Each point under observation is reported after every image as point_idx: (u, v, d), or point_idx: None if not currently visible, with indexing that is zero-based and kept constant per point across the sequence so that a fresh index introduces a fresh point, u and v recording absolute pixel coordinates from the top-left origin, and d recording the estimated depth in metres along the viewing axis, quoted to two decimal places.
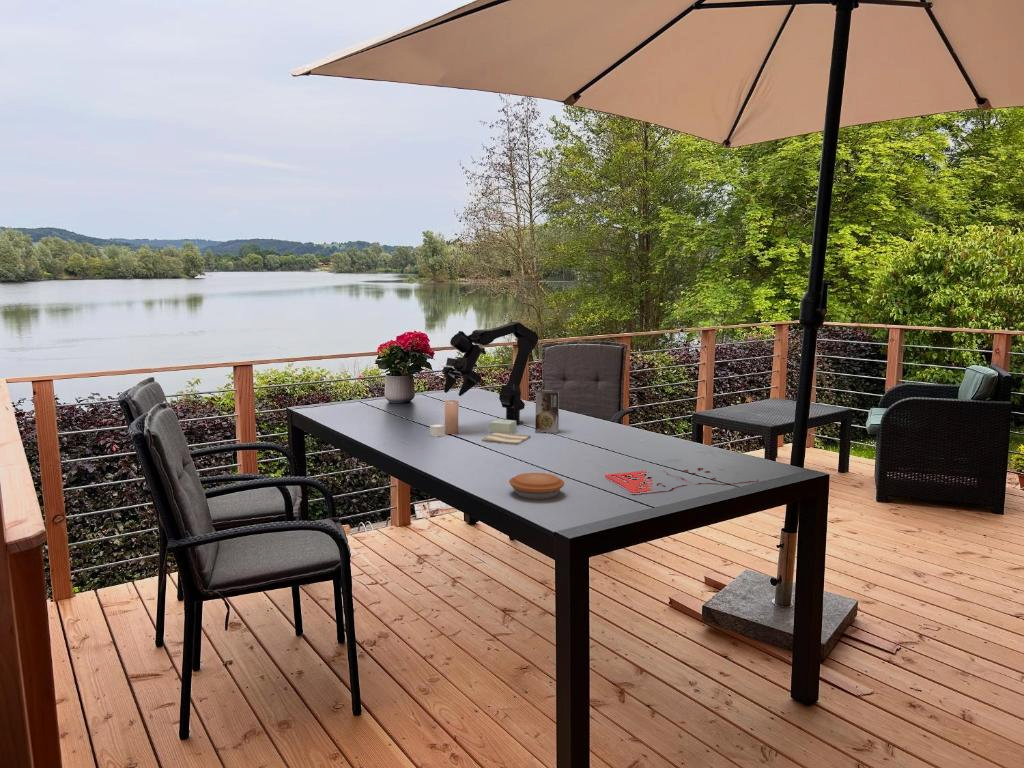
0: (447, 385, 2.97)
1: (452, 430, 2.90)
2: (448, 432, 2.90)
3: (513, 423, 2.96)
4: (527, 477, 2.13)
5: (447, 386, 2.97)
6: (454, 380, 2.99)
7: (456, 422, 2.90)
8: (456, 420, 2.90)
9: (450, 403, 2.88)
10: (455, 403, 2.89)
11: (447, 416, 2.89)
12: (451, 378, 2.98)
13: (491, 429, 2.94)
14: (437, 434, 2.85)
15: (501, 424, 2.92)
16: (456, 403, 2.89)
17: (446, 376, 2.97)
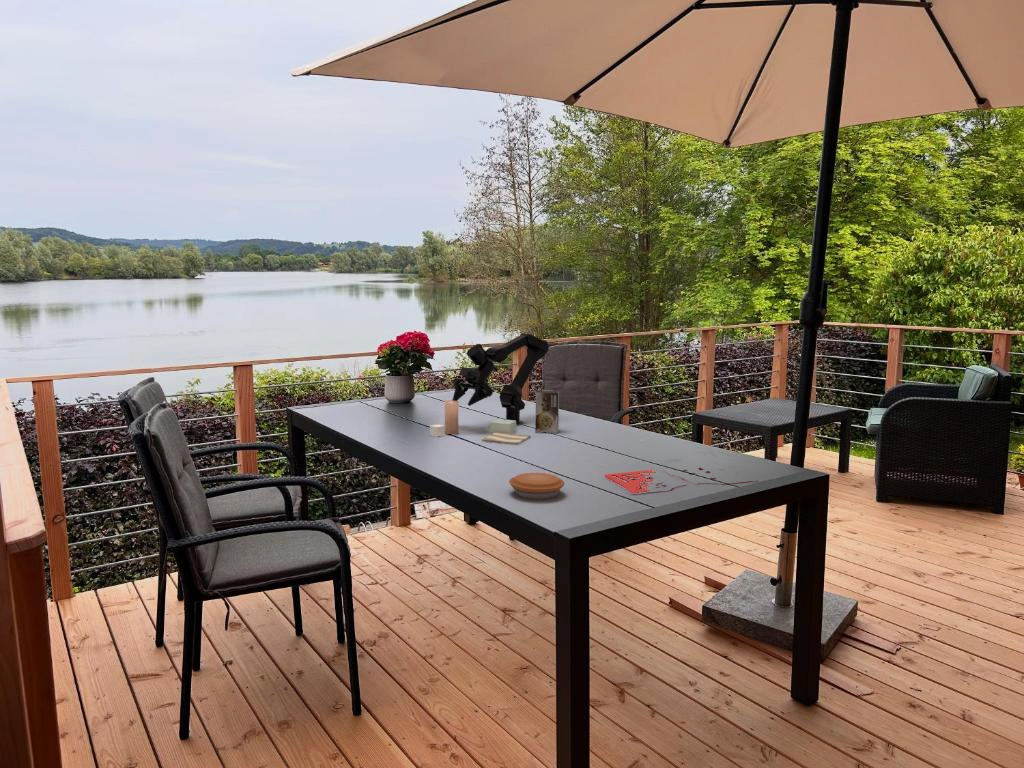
0: (456, 395, 2.98)
1: (452, 430, 2.90)
2: (448, 432, 2.90)
3: (513, 423, 2.96)
4: (527, 477, 2.13)
5: (456, 396, 2.98)
6: (463, 392, 3.01)
7: (456, 422, 2.90)
8: (456, 420, 2.90)
9: (450, 403, 2.88)
10: (455, 403, 2.89)
11: (447, 416, 2.89)
12: (460, 389, 3.00)
13: (491, 429, 2.94)
14: (437, 434, 2.85)
15: (501, 424, 2.92)
16: (456, 403, 2.89)
17: (456, 386, 2.99)
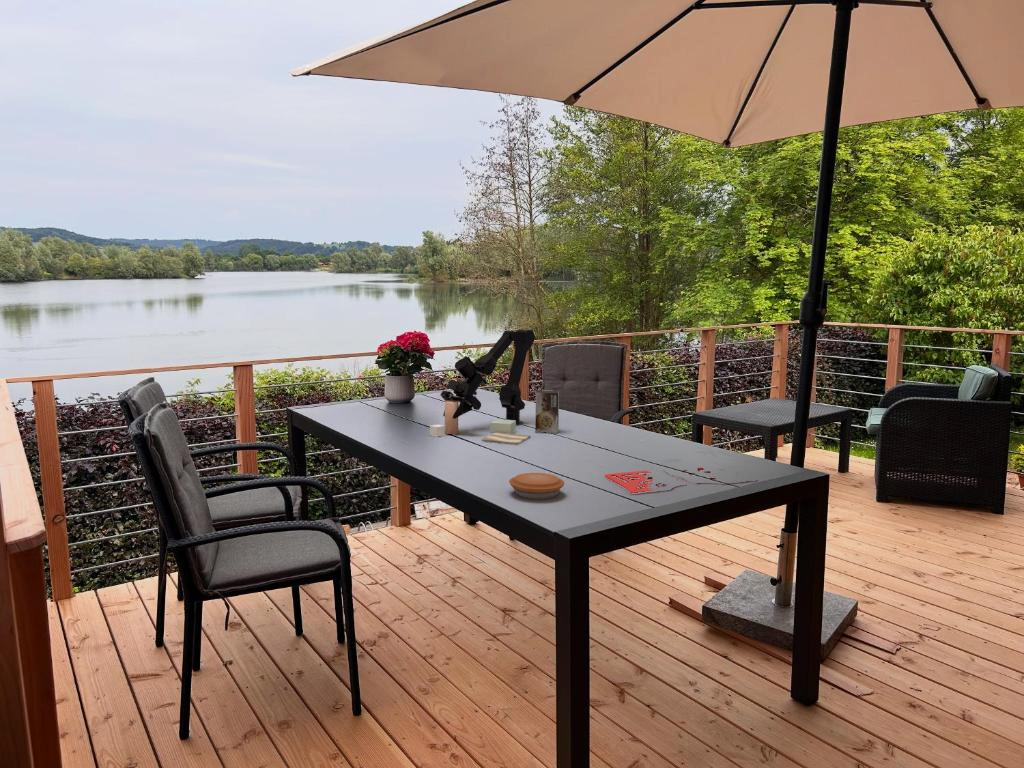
0: None
1: (452, 430, 2.90)
2: (448, 432, 2.90)
3: (513, 423, 2.96)
4: (527, 477, 2.13)
5: None
6: None
7: (456, 422, 2.90)
8: (456, 420, 2.90)
9: (450, 403, 2.88)
10: (455, 403, 2.89)
11: (447, 416, 2.89)
12: None
13: (492, 429, 2.94)
14: (437, 434, 2.85)
15: (502, 424, 2.92)
16: (456, 403, 2.89)
17: (447, 400, 2.94)
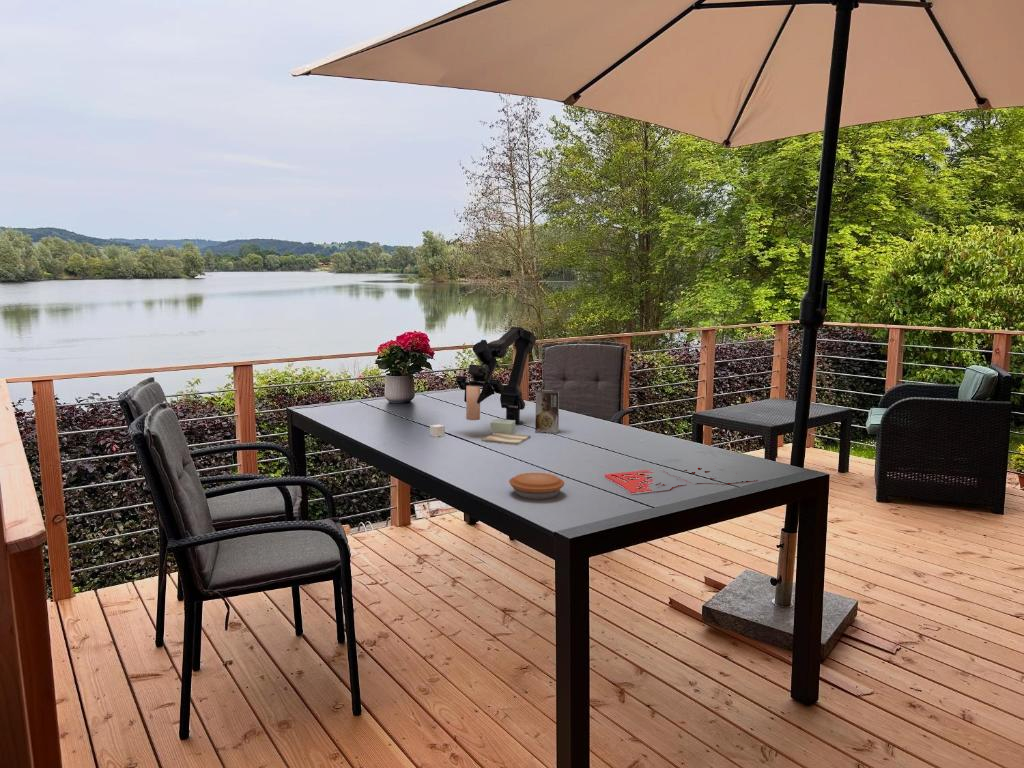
0: None
1: (476, 415, 2.84)
2: (472, 417, 2.84)
3: (513, 423, 2.96)
4: (527, 477, 2.13)
5: None
6: None
7: (479, 407, 2.85)
8: (479, 405, 2.85)
9: (474, 388, 2.83)
10: (478, 387, 2.84)
11: (471, 402, 2.83)
12: None
13: (492, 429, 2.93)
14: (437, 434, 2.85)
15: (502, 424, 2.92)
16: (479, 387, 2.84)
17: (466, 385, 2.88)
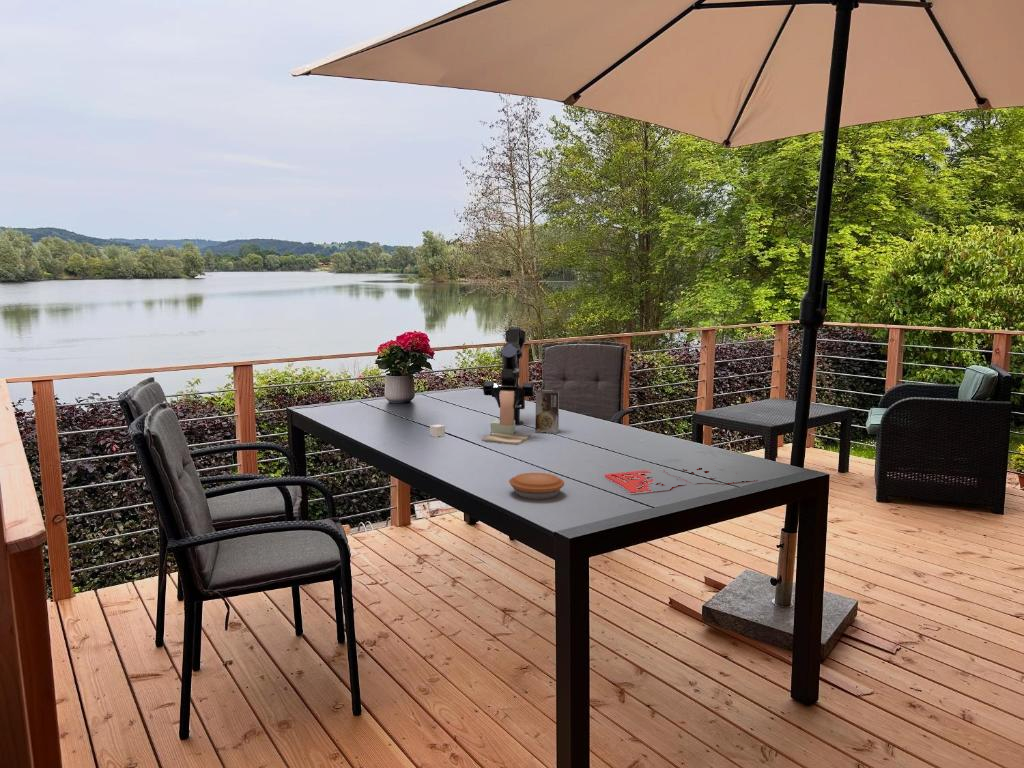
0: (499, 400, 2.82)
1: (512, 420, 2.81)
2: (509, 423, 2.80)
3: None
4: (527, 477, 2.13)
5: (499, 401, 2.82)
6: (499, 396, 2.86)
7: (513, 411, 2.82)
8: (513, 409, 2.82)
9: (511, 392, 2.79)
10: None
11: (508, 407, 2.79)
12: None
13: (492, 429, 2.93)
14: (437, 434, 2.85)
15: None
16: None
17: (497, 390, 2.83)
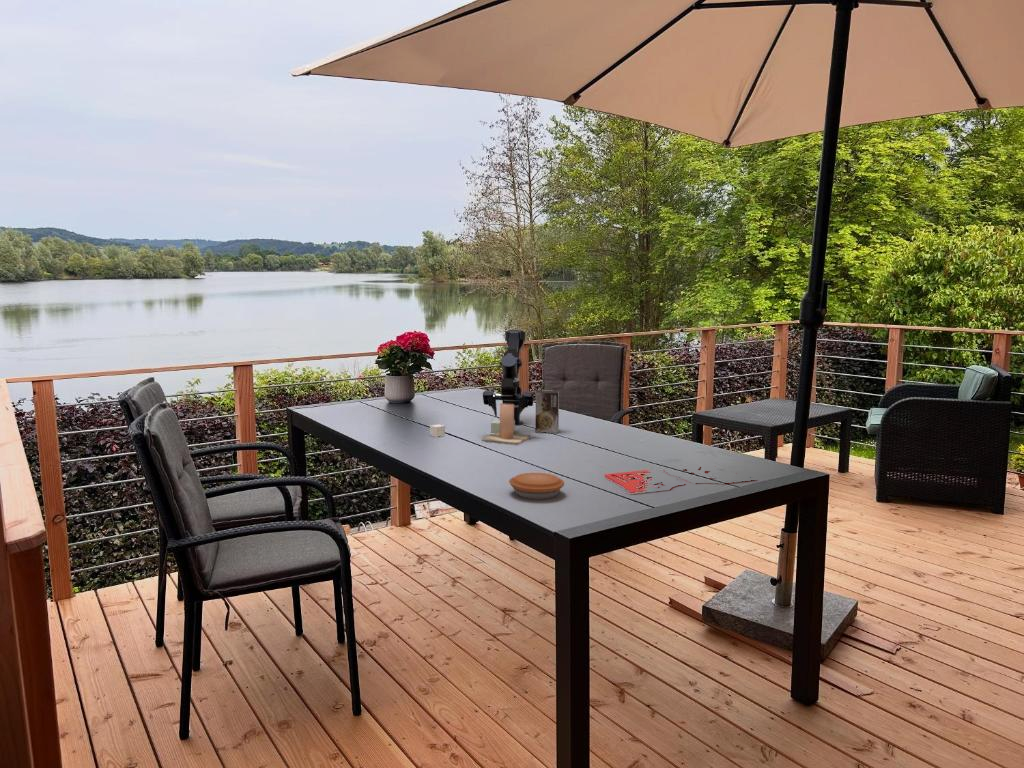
0: (496, 409, 2.82)
1: (512, 433, 2.82)
2: (508, 436, 2.81)
3: None
4: (527, 477, 2.13)
5: (496, 410, 2.82)
6: None
7: (513, 425, 2.83)
8: (513, 422, 2.83)
9: (511, 406, 2.80)
10: (513, 405, 2.81)
11: (507, 420, 2.80)
12: None
13: (492, 429, 2.93)
14: (437, 434, 2.85)
15: None
16: None
17: (493, 400, 2.83)
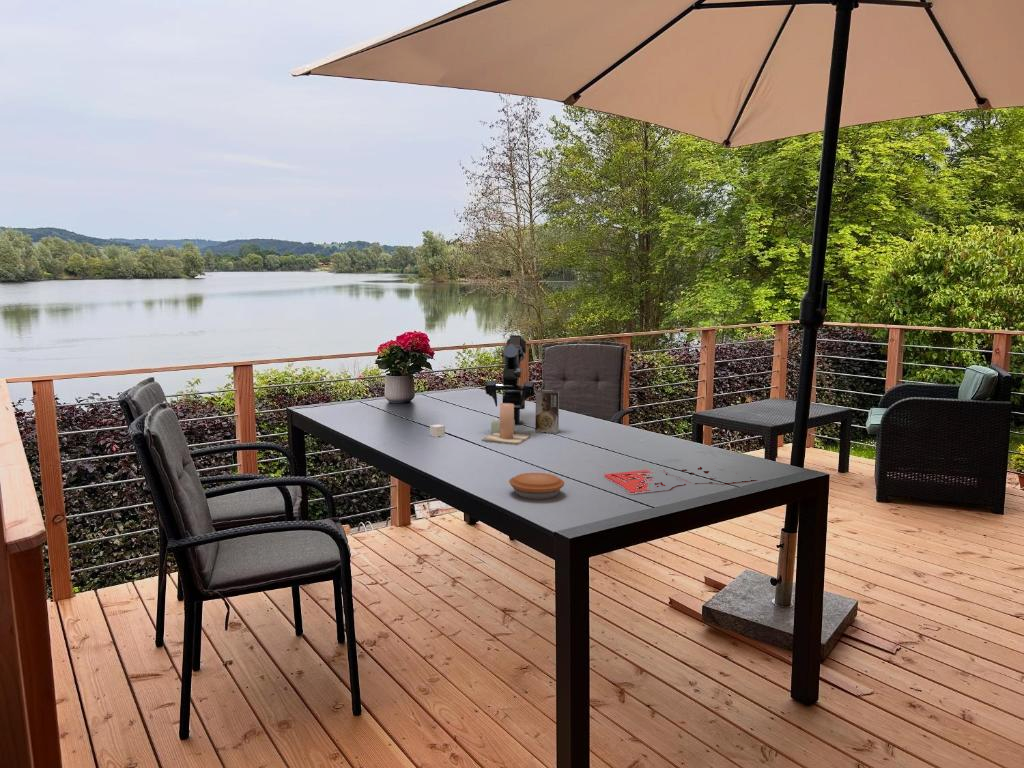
0: (496, 398, 2.90)
1: (512, 433, 2.82)
2: (508, 436, 2.81)
3: None
4: (527, 477, 2.13)
5: (496, 399, 2.90)
6: None
7: (513, 425, 2.83)
8: (513, 422, 2.83)
9: (510, 406, 2.80)
10: (513, 405, 2.81)
11: (507, 420, 2.80)
12: None
13: (493, 430, 2.93)
14: (437, 434, 2.85)
15: None
16: (513, 405, 2.82)
17: (494, 390, 2.90)
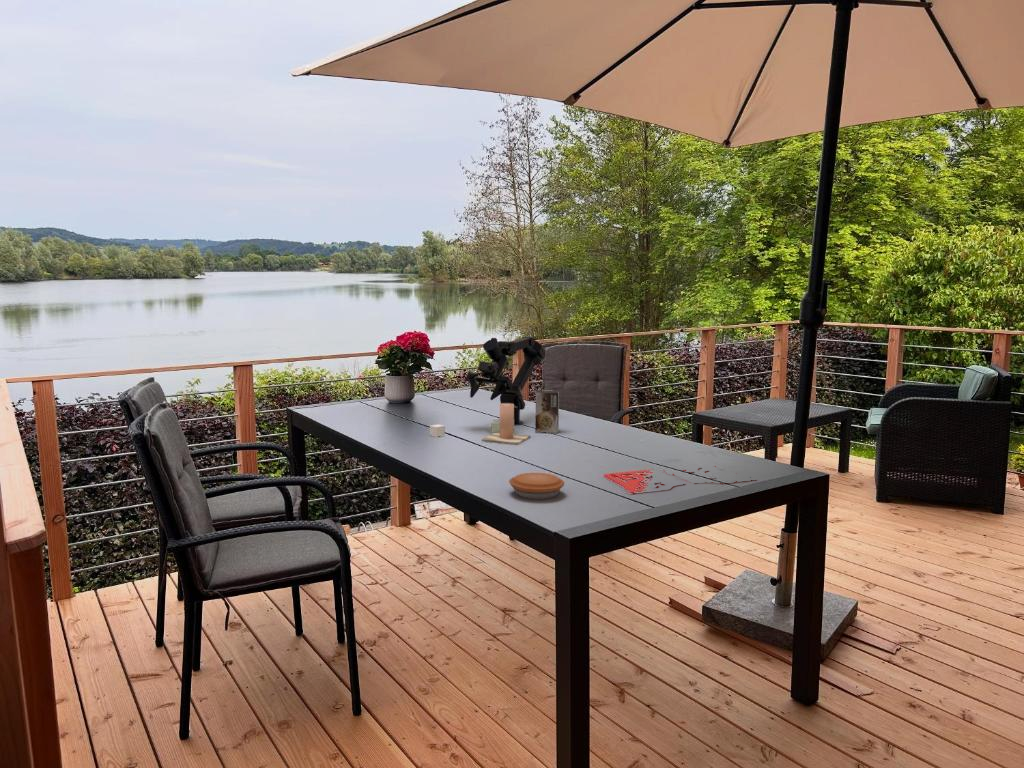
0: (473, 390, 2.96)
1: (512, 433, 2.82)
2: (508, 436, 2.81)
3: None
4: (527, 477, 2.13)
5: (473, 391, 2.96)
6: (477, 387, 2.99)
7: (513, 424, 2.83)
8: (513, 422, 2.83)
9: (510, 406, 2.80)
10: (513, 405, 2.81)
11: (507, 420, 2.80)
12: (476, 384, 2.98)
13: (493, 430, 2.93)
14: (437, 434, 2.85)
15: None
16: (513, 405, 2.82)
17: (472, 381, 2.97)
